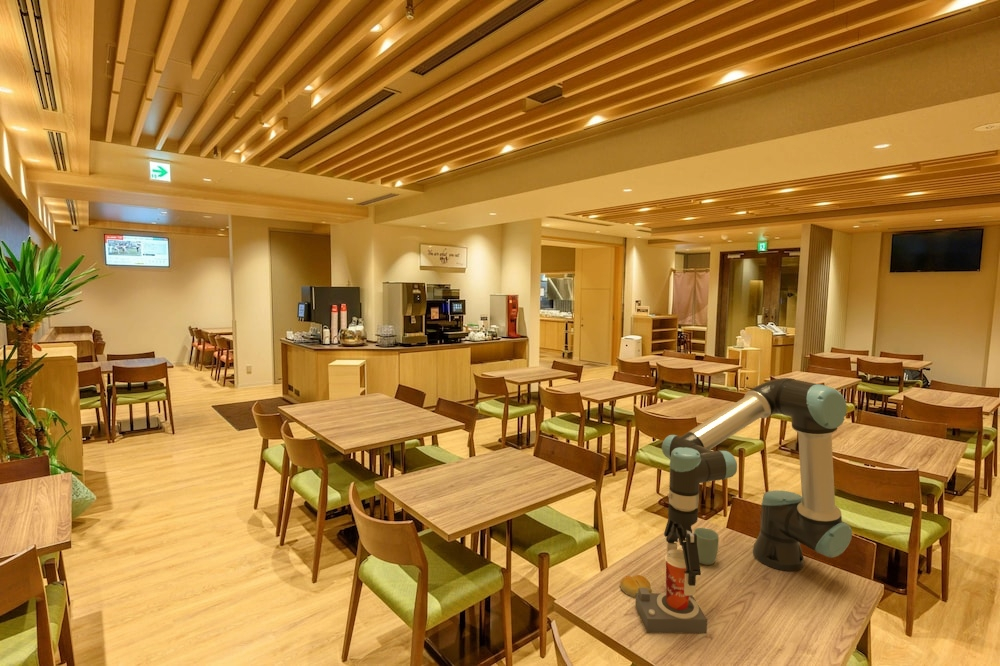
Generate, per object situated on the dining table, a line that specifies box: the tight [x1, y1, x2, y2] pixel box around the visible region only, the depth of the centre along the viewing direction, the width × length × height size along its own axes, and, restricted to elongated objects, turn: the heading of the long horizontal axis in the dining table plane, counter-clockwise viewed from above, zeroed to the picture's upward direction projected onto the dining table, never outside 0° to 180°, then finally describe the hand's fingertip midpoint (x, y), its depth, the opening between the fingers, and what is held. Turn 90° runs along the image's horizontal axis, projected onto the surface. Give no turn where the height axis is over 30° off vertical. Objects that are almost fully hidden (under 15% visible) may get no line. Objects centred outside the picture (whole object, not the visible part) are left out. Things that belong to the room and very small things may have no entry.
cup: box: [692, 527, 720, 566], centre depth 167 cm, size 8×8×10 cm
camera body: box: [634, 588, 708, 634], centre depth 138 cm, size 16×11×6 cm
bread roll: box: [620, 574, 653, 598], centre depth 151 cm, size 8×9×4 cm
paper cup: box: [664, 548, 689, 610], centre depth 137 cm, size 8×8×14 cm
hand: (680, 579), depth 137 cm, fingers open, 13 cm apart
